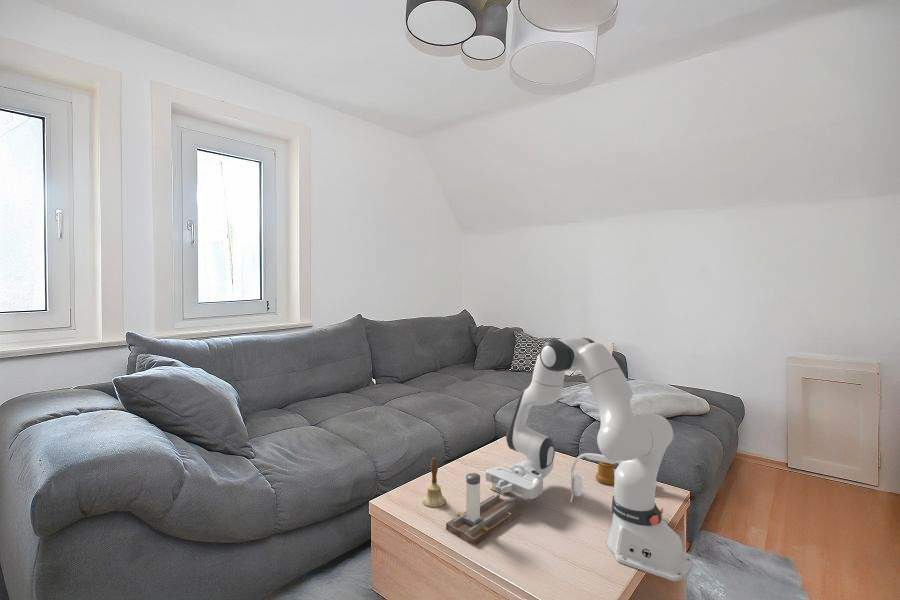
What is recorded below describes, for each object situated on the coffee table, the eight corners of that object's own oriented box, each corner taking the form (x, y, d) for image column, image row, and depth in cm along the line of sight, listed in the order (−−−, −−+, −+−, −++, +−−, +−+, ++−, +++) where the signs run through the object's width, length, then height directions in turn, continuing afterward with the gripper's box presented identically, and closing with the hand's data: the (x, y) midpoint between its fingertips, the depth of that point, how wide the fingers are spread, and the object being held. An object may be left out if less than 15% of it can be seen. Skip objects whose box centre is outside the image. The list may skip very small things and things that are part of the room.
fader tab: (483, 521, 138) (483, 476, 137) (474, 527, 135) (474, 481, 134) (472, 515, 141) (472, 471, 140) (462, 521, 138) (462, 476, 137)
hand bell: (450, 500, 156) (450, 456, 155) (435, 510, 149) (434, 464, 148) (433, 492, 161) (432, 450, 160) (417, 502, 154) (417, 458, 153)
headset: (630, 506, 151) (632, 456, 150) (629, 516, 145) (630, 464, 144) (572, 493, 160) (572, 446, 159) (568, 502, 154) (569, 453, 153)
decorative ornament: (496, 485, 166) (496, 471, 166) (513, 493, 160) (513, 479, 160) (489, 488, 164) (489, 475, 163) (506, 497, 158) (506, 483, 157)
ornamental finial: (599, 474, 175) (618, 479, 170) (593, 481, 169) (612, 487, 165) (599, 455, 174) (619, 460, 170) (593, 461, 168) (613, 467, 164)
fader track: (521, 513, 147) (521, 503, 147) (474, 545, 130) (474, 534, 130) (493, 500, 155) (493, 491, 155) (446, 529, 138) (446, 518, 138)
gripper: (499, 458, 164) (475, 470, 154) (546, 476, 150) (523, 491, 140) (499, 474, 164) (475, 488, 154) (546, 494, 150) (523, 510, 140)
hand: (498, 489), depth 147 cm, fingers closed
